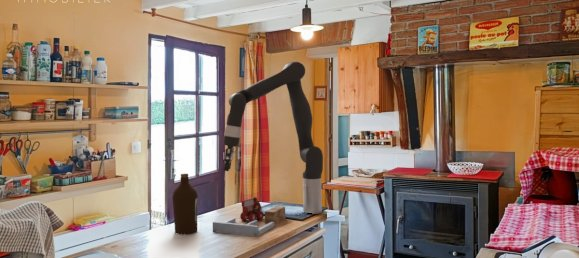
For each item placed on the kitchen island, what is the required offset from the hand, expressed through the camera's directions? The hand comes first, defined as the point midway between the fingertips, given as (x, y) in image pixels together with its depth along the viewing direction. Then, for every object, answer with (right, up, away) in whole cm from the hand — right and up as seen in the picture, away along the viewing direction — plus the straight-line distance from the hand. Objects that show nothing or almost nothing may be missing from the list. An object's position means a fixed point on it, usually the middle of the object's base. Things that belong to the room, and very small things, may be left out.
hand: (227, 170), depth 216 cm
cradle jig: (+9, -24, -14) cm, 30 cm away
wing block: (+23, -24, -2) cm, 33 cm away
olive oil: (-15, -25, -17) cm, 34 cm away
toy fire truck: (+12, -24, +2) cm, 27 cm away
